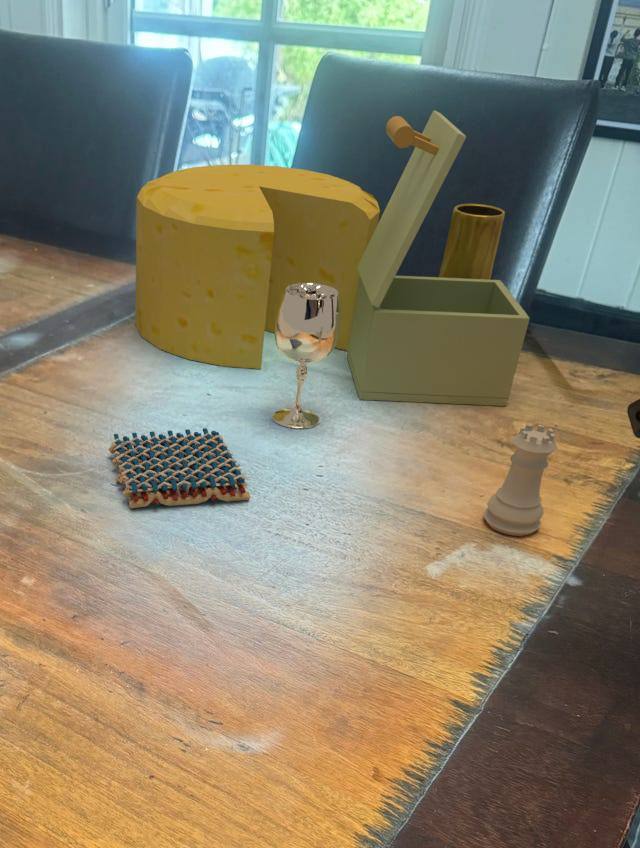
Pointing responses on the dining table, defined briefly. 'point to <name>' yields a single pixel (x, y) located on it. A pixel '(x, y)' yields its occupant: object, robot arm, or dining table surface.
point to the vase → (472, 242)
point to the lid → (408, 198)
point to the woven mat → (177, 469)
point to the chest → (437, 341)
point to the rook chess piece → (522, 484)
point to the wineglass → (305, 339)
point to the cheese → (242, 255)
